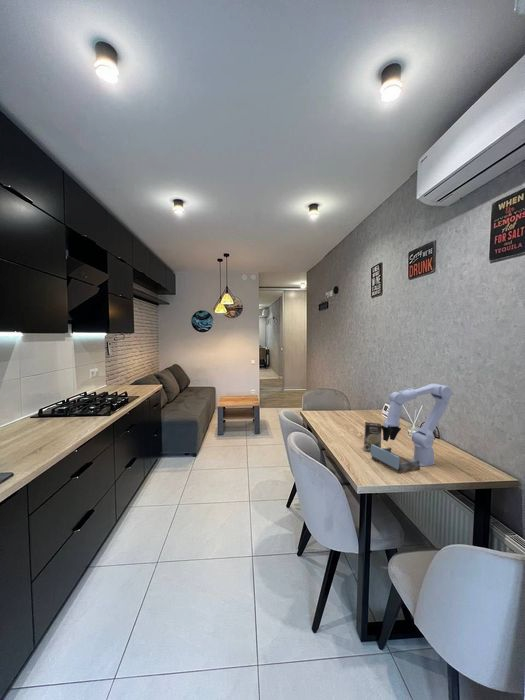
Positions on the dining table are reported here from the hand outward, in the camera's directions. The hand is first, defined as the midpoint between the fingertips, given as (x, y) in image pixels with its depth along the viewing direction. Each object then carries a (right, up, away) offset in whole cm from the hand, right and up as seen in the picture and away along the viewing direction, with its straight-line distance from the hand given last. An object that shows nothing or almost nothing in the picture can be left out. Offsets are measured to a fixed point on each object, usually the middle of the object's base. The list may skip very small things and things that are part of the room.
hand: (388, 440), depth 156 cm
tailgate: (-2, -11, 0) cm, 11 cm away
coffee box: (-1, -13, +21) cm, 24 cm away
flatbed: (+4, -13, +2) cm, 14 cm away
